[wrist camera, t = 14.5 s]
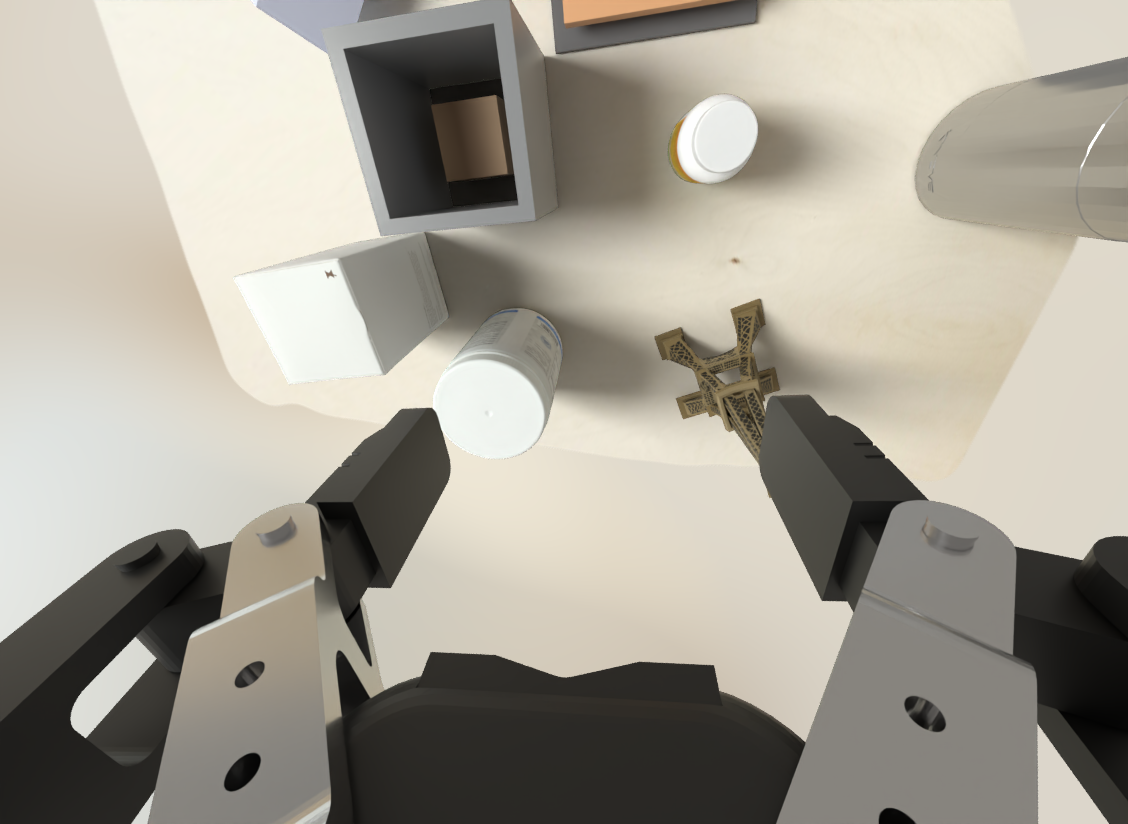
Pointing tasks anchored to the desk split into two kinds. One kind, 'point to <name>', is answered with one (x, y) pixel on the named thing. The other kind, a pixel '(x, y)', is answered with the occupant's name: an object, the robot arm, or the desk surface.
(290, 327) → the supplement box
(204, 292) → the desk surface
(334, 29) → the storage box
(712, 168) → the supplement bottle
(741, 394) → the eiffel tower
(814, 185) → the desk surface
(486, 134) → the walnut block
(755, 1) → the rubber mat
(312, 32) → the wedge on round base
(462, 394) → the supplement tub
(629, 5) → the lid
